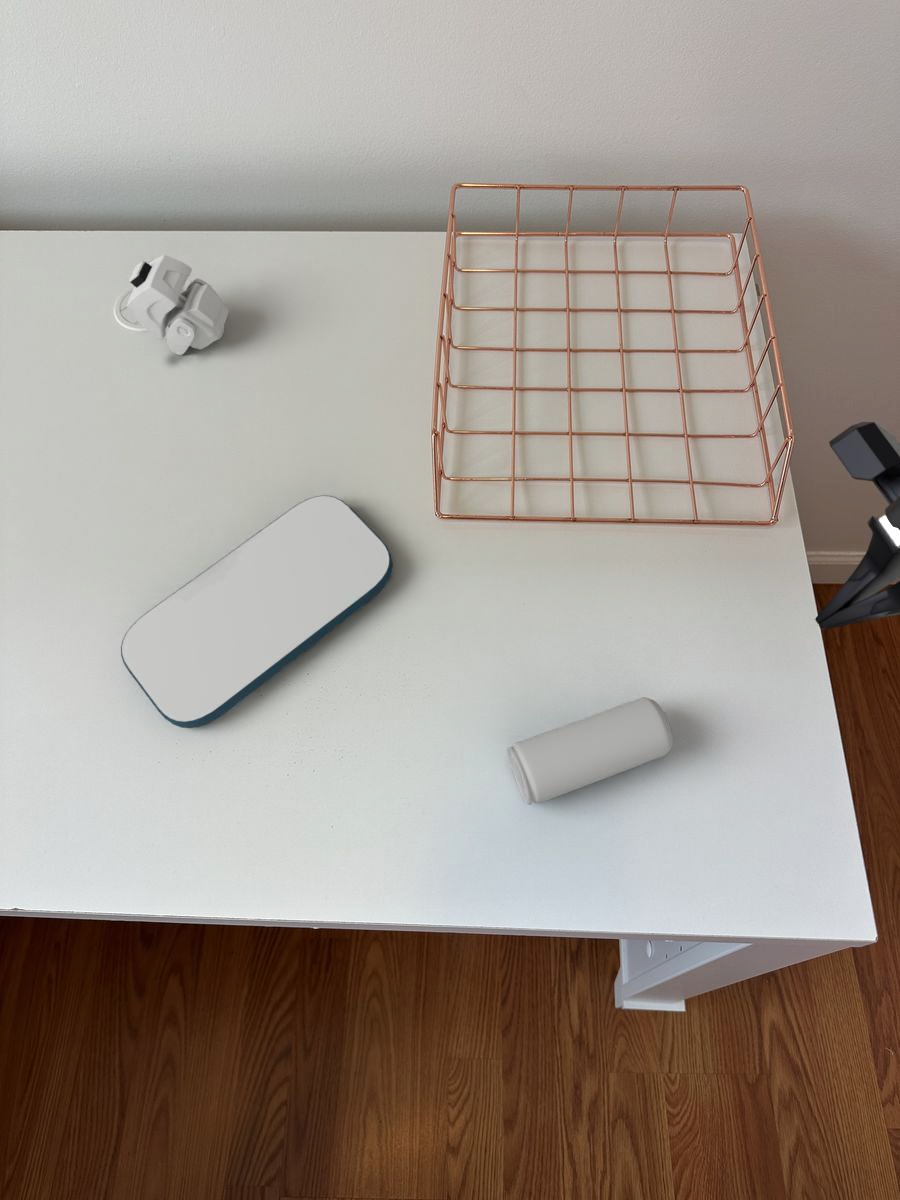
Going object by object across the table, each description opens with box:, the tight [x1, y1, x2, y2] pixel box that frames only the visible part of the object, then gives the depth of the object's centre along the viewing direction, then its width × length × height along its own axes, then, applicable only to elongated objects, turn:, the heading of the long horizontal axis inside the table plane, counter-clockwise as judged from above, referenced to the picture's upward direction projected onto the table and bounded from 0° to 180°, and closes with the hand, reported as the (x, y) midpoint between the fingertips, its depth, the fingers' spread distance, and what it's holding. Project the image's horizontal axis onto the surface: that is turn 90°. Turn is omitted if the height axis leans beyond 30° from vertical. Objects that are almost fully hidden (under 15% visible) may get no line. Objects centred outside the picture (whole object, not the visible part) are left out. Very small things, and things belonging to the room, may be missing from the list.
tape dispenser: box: [126, 254, 230, 356], centre depth 83 cm, size 6×7×10 cm
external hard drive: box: [120, 494, 394, 729], centre depth 72 cm, size 24×12×2 cm, turn 131°
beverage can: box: [506, 696, 674, 805], centre depth 65 cm, size 5×5×12 cm
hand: (819, 624), depth 56 cm, fingers closed
